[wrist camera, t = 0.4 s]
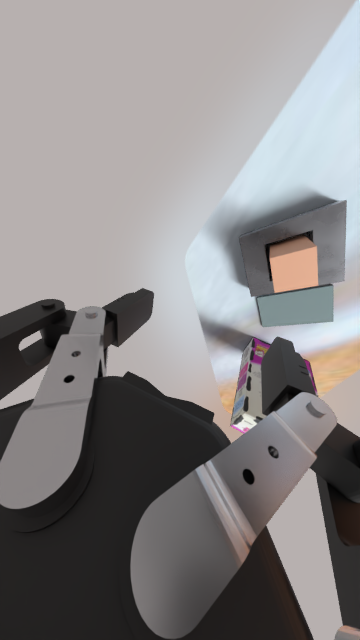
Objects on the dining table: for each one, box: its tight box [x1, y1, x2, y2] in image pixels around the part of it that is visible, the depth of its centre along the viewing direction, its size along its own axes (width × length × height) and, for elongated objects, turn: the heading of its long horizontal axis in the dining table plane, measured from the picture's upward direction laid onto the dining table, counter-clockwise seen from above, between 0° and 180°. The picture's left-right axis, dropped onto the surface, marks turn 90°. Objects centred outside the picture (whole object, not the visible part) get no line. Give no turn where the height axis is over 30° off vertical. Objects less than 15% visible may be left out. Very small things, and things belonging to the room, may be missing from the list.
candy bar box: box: [230, 338, 318, 433], centre depth 28 cm, size 11×5×16 cm, turn 76°
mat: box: [257, 285, 333, 327], centre depth 28 cm, size 10×6×1 cm, turn 112°
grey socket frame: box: [239, 200, 347, 297], centre depth 24 cm, size 11×9×3 cm
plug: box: [270, 234, 318, 293], centre depth 21 cm, size 4×4×9 cm
